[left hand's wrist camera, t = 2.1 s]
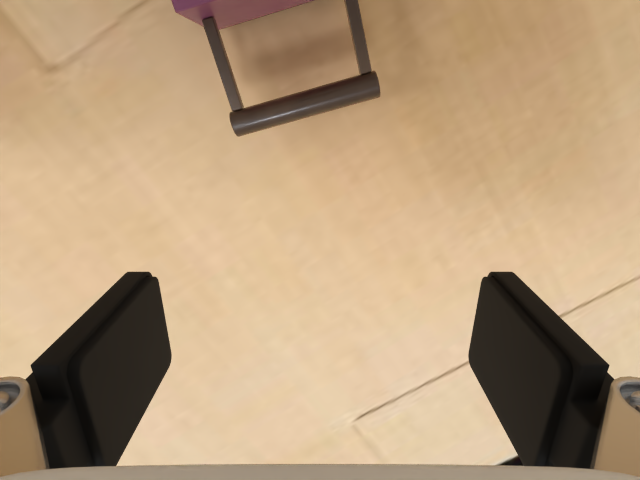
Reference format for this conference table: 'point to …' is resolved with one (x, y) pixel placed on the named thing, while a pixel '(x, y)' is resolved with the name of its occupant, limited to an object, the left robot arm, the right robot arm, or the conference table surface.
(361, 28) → the drawer
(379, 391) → the conference table surface
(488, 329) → the left robot arm
